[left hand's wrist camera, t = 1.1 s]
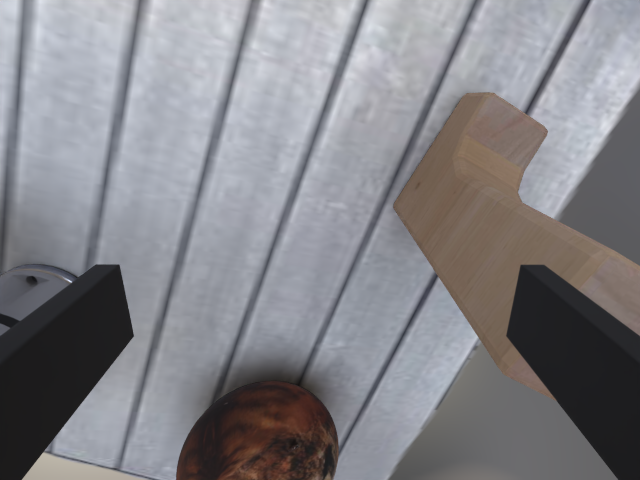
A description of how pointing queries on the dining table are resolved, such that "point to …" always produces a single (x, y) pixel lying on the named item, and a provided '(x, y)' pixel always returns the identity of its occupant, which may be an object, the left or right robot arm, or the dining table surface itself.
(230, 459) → the plush toy
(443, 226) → the decorative block
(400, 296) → the dining table surface
